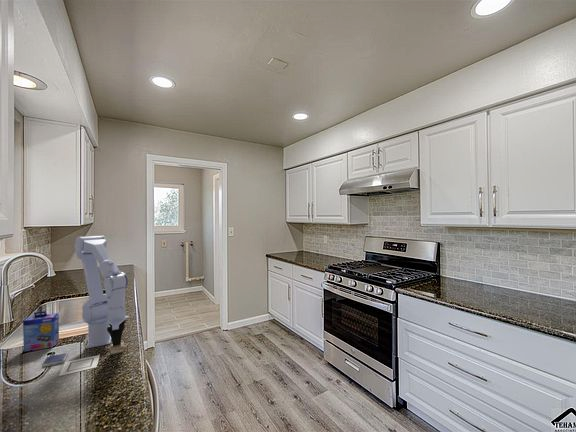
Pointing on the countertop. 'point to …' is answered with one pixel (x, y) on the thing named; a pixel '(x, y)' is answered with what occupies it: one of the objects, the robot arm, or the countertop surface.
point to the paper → (80, 365)
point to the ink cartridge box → (40, 331)
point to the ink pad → (55, 360)
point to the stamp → (117, 348)
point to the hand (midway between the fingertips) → (117, 342)
